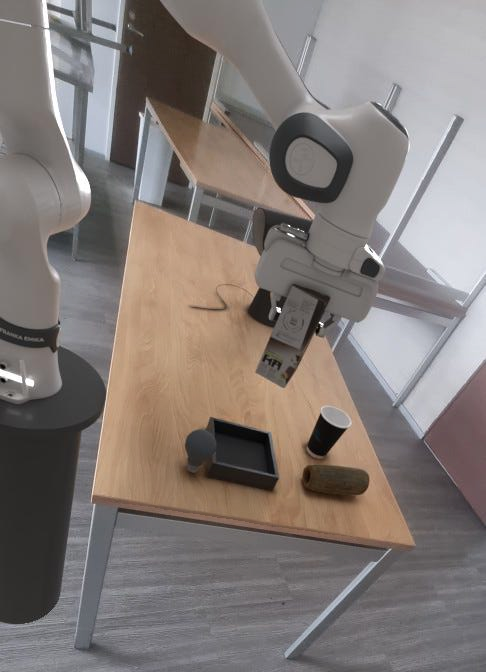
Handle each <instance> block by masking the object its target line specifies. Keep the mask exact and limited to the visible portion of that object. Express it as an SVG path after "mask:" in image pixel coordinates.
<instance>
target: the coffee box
mask: <svg viewBox="0 0 486 672" xmlns="http://www.w3.org/2000/svg"><path fill="white" fill-rule="evenodd" d="M329 300H330V297H329V296H327V295H325V294H322V293H320V292H318V291H315V290H311V289H308V288H304V287H301V286H299V285H296V284H293V285H292V287H291V290H290V292H289V294H288V296H287V299H286V301H285V303H284V306H283V308H282V310H281V313H280V315H279V317H278V320H277V322H276V324H275V327H273V329H272V331H271V334H270V336H269V339H268V341H267V343H266V344H265V345H266V346H265V348H264V350H263V352H262V355H261V357H260V359H259V362H258V364H257V366H256V369H255V374H257V375H259V376H260V377H262V378H264V379H266V380H268V381H270V382H271V383H273V384H275V385H277V386H279V387H280V388H282V389H285V388H286V387H287V386H288V384H289V382H290V381H291V379H292V378H293V376H294V374H295V373H296V371H297V370H298V367H299V366H300V364H301V362H302V360H303V357H304V356H305V353H306V352H307V350H308V347H309V345H310V343H311V341H312V339H313V337H314V335H315V331H316V329H317V328H318V325H319V323H321V321H322V318H323V317H324V315H325V313H326V311H325V309H326V307H327V305H328V303H329Z"/></svg>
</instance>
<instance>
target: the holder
mask: <svg viewBox="0 0 486 672" xmlns="http://www.w3.org/2000/svg"><path fill="white" fill-rule="evenodd" d="M205 430H207V431H208V432H210V433H211V434H212V435H213V436H214V438H215V441H216V450H215V453H214V454H213V456H212V457H211V458H209V459H207V460H206V477H207V478H212V479H217V480H220V481H225V482H229V483H233V484H234V483H235V484H239V485H244V486H248V487H252V488H257V489H261V490H267V491H271V492H273V491H274V488H275V487H276V486H277V483H278V481H279V480H280V475H279V469H278V464H277V458H276V453H275V446H274V441H273V437H272V432H271V431H267V430H264V429H259V428H255V427H251V426H248V425H244V424H240V423H236V422H233V421H229V420H225V419H221V418H217V417H213V416H210V417H209V419H208V422H207V425H206V427H205Z"/></svg>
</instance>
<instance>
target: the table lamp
mask: <svg viewBox="0 0 486 672" xmlns="http://www.w3.org/2000/svg"><path fill="white" fill-rule="evenodd" d="M312 222H313V219H312V220H311V219H308V218H304V217H299V216H295V215H291V214H288V213H284V212H281V211H280V212H279V211H276V210H271V209H269V208H264V207H257V208H256V209H255V210H254V212H253V216H252V237H253V241H254V245H255V248H256V251H257V253H258V255H259V258H260V257H261V255H262V253H263V251H264V242H265V239H266V236H267V233H268V231H269V230H270V228H272V227H273V226H275V225H281V223H284V224H288V225H289V226H290V227H292V228H296V229H299V230H302V231H304V232H307V233H308V232H309V230H310V227H311V225H312ZM276 229H278V230H280V228H276ZM220 286H230V284H227V283H225V284H218V285H217V286H216V288H215V292H216V294H217V295H218V297H219V298H220V300H221V301H222V302H223V304H224V305H225V307H224V308H219V309H218V308H209V310H212V311H222V310H226V308H227V305H226V303H225V301H224V300H223V299H222V298H221V296H220V294H219V293H218V291H217V289H218V287H220ZM231 286H232V287H236V288H239V289H241V290H243V291H245V292H247V293H248V294H249V295H250V296H251V297H252V301H251V302H250V304H249V307H248V308H247V311H248V314H249V315H250V316H251V317H252V318H253V319H254V320H256V321H257V322H259V323H260V324H263V325H264V326H268V327H271V328H274V327H275V324H276V322H275V321H272V320H269V313H270V310H271V308H272V304H271V296H270V293H271V291H268V290H265V289H262V288H260V287H258V289H257V291H256V293H255V295H252V293H250V292H249V291H247V290H246V289H244V288H243V287H241V286H238V285H234V284H231ZM286 299H287V297H285V296H281V298H280V301H277V300H276V306H277V308H279V309H280V311H281V310H282V308H283V306H284V303H285V301H286ZM194 308H196V309H200V307H198V306H194ZM201 309H203V310H207V308H205V307H201Z"/></svg>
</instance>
